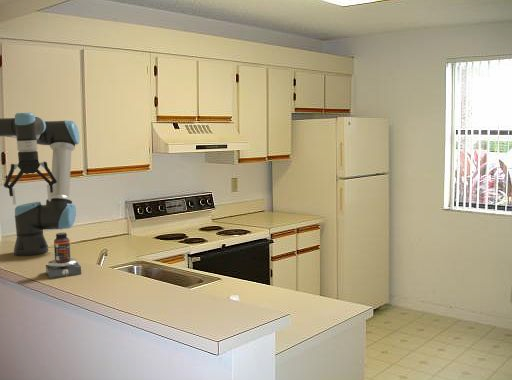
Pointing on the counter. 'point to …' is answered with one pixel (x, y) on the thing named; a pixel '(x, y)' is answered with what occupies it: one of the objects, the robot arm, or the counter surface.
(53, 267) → the kitchen scale
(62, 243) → the supplement bottle
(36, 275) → the counter surface
